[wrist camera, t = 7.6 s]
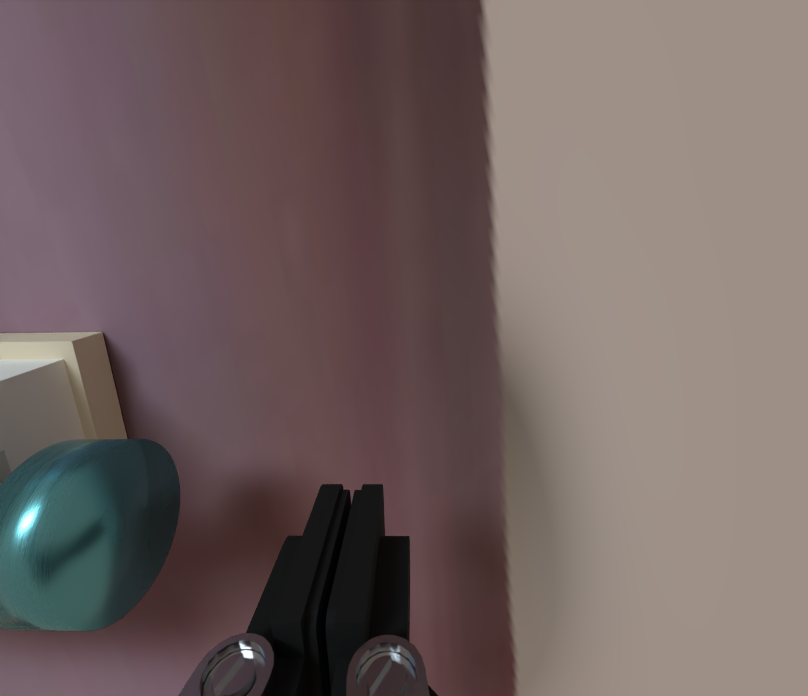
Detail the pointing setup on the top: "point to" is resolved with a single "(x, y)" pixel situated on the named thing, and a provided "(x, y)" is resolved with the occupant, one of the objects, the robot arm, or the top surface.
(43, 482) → the shaft
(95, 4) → the top surface
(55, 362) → the housing
